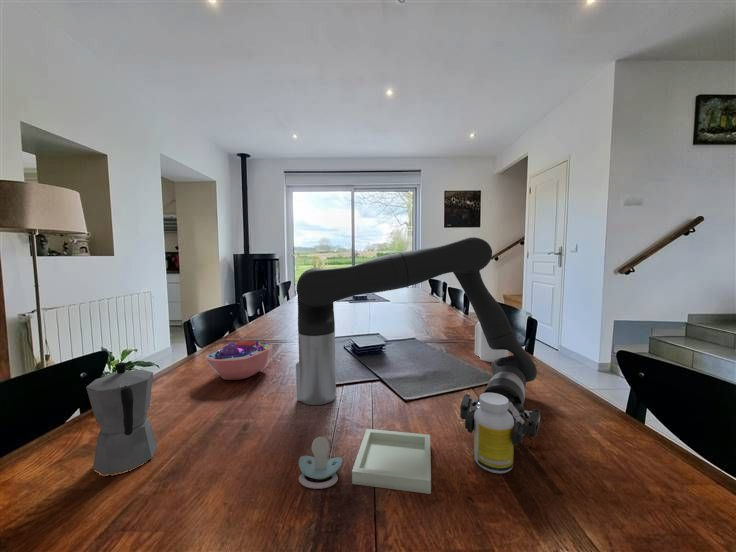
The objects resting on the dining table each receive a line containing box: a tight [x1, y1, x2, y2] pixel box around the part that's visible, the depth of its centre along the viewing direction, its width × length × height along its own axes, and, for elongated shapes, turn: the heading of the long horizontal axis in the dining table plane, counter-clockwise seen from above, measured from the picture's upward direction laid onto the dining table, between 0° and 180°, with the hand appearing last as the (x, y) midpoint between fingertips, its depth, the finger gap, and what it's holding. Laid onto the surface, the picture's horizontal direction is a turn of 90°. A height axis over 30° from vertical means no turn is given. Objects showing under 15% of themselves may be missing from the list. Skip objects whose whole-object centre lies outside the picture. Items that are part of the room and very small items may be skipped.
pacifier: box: [298, 436, 343, 490], centre depth 51 cm, size 7×6×6 cm
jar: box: [474, 321, 510, 363], centre depth 110 cm, size 12×10×15 cm
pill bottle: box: [473, 392, 515, 474], centre depth 54 cm, size 6×6×12 cm
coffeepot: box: [85, 362, 158, 475], centre depth 55 cm, size 15×9×18 cm, turn 43°
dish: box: [351, 428, 432, 495], centre depth 55 cm, size 12×12×2 cm
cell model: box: [204, 340, 273, 381], centre depth 95 cm, size 17×20×11 cm
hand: (491, 433), depth 52 cm, fingers closed on pill bottle, 6 cm apart
